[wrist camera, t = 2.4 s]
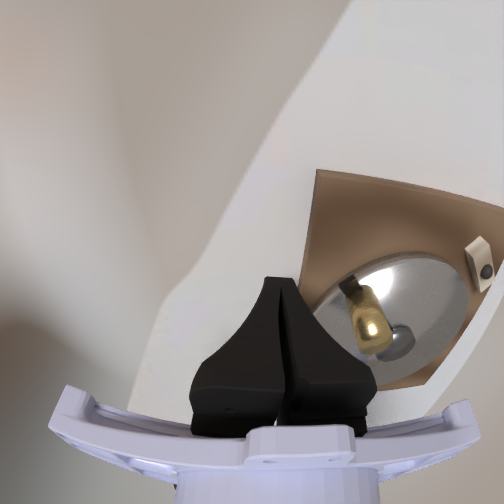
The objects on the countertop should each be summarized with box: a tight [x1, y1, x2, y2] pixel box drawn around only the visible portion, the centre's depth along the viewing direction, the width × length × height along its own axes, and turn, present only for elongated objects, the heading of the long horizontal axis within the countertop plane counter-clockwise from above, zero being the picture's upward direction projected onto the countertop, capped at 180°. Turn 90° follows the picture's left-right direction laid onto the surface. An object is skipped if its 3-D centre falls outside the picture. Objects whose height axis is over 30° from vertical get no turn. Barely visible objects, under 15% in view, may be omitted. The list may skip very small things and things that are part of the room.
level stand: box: [298, 169, 504, 391], centre depth 18 cm, size 20×16×3 cm
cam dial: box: [311, 251, 469, 386], centre depth 15 cm, size 14×13×5 cm
